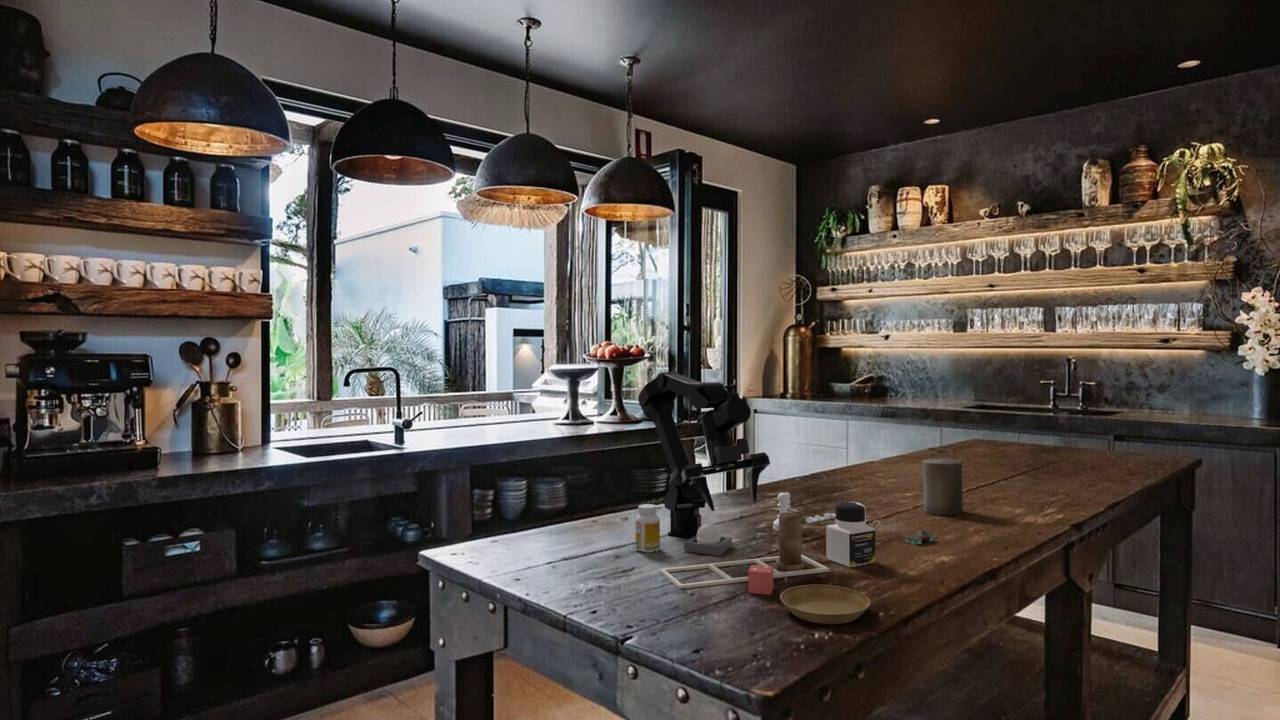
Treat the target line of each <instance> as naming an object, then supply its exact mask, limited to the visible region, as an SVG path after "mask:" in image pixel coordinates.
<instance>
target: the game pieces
mask: <svg viewBox="0 0 1280 720" xmlns="http://www.w3.org/2000/svg"><path fill="white" fill-rule="evenodd" d="M785 493H786V494H788V496H789V501H788V502H787V503H788V504H789V506H786V507H787V513H797V514H800V513H801V510H798V509H794V508H791V505H790V504H791V499H790V498H791V493H790V492H785ZM771 510H773V511H772V512H775V511H777V512H776V513H779V512H780V506H778V507H775V508H772V509H771ZM831 519H836V513H833V512H832V513H828V512H827V513H823V517H822V516H821V515H818V514H817V515H814V517H813V516H808V517H807V516H806V519H805V520H806V523H808V524H813V523H817V522H819V523H820V522H822V521H826V520H831ZM936 536H937V535H934V534H932V533H929V532H927V530H925V529H919V530H917V531H915V532H914V533H911V534H907V535H903V536H902V543H904V542H907V543H906V544H908V543H911V544H910V545H912V544H915V545H914V546H916V545H917V544H921V543H922V544H923V541H922V540H926V541H925V542H927V541H932V540H934V541H935V538H934V537H936ZM932 542H933V541H932ZM922 544H921V545H922ZM917 546H918V545H917Z"/></svg>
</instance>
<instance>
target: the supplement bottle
mask: <svg viewBox="0 0 1280 720" xmlns="http://www.w3.org/2000/svg"><path fill="white" fill-rule="evenodd" d="M637 507H638V510H637V511H638V515H636V517H635V550H636V549H637V550H639V551H644V552H643V553H655V552H654V551H656V552H658V551H659V550H660V548H661V532H660V531H661V528H660V527H661V523H660V522H661V521H660V517H659V515H658V514H656V513H657V509H658V508H657V505H656V504H649V503H645V504H639V505H638V506H637ZM637 550H636V551H637ZM639 551H638V552H639Z"/></svg>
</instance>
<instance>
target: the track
mask: <svg viewBox="0 0 1280 720" xmlns="http://www.w3.org/2000/svg"><path fill="white" fill-rule="evenodd" d="M778 559H779V555H778V556H768V557H767V556H766V557H759V558H758V557H756V558H749V559H741V560H740V559H739V560H730V561H721V562H720V561H719V562H713V563H704V564H701V563H700V564H695V565H694V564H693V565H684V566H683V565H682V566H675V567H674V566H673V567H665V568H659V571H658V572H659V574H661V573H662V574H663V575H662V574H661V575H662V576H664V577H665V578H666V579H667V580H668V579H669V580H668V581H670V582H671V583H672V584H673V585H674V586H675V587H676V588H677V589H679V590H683V588H685V589H690V588H691V589H692V588H693V589H694V588H700V587H701V588H702V587H709V586H710V587H711V586H716V585H726V584H734V583H742V582H748V576H741V577H740V576H739V577H732V576H730V575H729V574H727V573H726V572H724V571H723V570H722V569H719V568H720V567H728V566H731V567H732V566H739V565H746V564H748V565H749V564H755V565H761V566H770V565H769V564H767V562H774V561H776V560H778ZM801 560H803V561H804V562H806V563H807V564H810V565H812V566H814V567H816V568H811V569H809V568H807V569H802V570H798V571H784V572H783V571H782V572H780V571H779V570H777V569H775V568H774V567H773V579H776V578H786V577H793V576H802V575H809V574H812V575H813V574H818V573H828V572H830V568H829V567H827V566H825V565H824V564H821V563H819V562H818V561H815V560H813V559H812V558H809V557H807V556H805V555H803V554H802V553H801ZM765 562H766V563H765ZM702 569H709V570H711V571H713V572H714V573H716V574H717V576H719V577H721V578H723V579H713V580H707V581H697V582H690V583H689V582H688V583H681V582H680V581H679V580H678V579H676V578H675V577H674V576H673V575H672V574H670V573H675V571H676V572H682V571H683V570H685V571H692V570H693V571H694V570H702ZM683 572H684V571H683Z"/></svg>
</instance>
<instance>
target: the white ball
mask: <svg viewBox="0 0 1280 720" xmlns="http://www.w3.org/2000/svg"><path fill="white" fill-rule="evenodd" d="M720 536H721V532H720V529H719V528H718V526H716V525H715V524H713V523H710V522H709V523H703V524H701V526H700V528H699V529H698V531H697V543H705V544H714V545H717V544H718V543H720Z"/></svg>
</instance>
